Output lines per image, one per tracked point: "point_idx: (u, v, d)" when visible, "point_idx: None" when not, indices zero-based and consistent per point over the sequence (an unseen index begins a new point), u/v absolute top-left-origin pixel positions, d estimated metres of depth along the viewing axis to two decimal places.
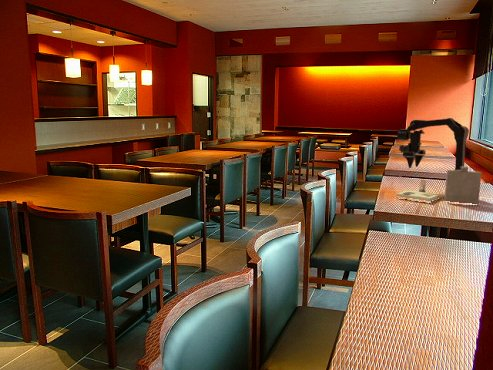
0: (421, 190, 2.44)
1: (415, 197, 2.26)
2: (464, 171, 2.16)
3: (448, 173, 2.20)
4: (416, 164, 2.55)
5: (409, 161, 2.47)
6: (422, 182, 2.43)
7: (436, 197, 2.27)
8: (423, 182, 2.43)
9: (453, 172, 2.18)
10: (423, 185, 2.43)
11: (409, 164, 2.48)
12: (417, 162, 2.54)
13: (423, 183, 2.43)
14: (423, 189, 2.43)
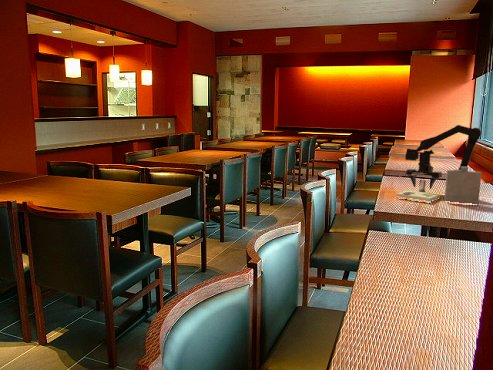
0: (421, 190, 2.44)
1: (415, 197, 2.26)
2: (464, 171, 2.16)
3: (448, 173, 2.20)
4: None
5: None
6: (422, 182, 2.43)
7: (436, 197, 2.27)
8: (423, 182, 2.43)
9: (453, 172, 2.18)
10: (423, 185, 2.43)
11: None
12: None
13: (423, 183, 2.43)
14: (423, 189, 2.43)
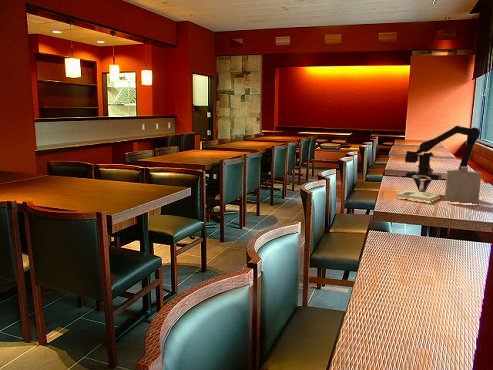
0: (421, 190, 2.44)
1: (415, 197, 2.26)
2: (464, 171, 2.16)
3: (448, 173, 2.20)
4: None
5: None
6: (422, 182, 2.43)
7: (436, 197, 2.27)
8: (423, 182, 2.43)
9: (453, 172, 2.18)
10: (423, 185, 2.43)
11: None
12: None
13: (423, 183, 2.43)
14: (423, 189, 2.43)
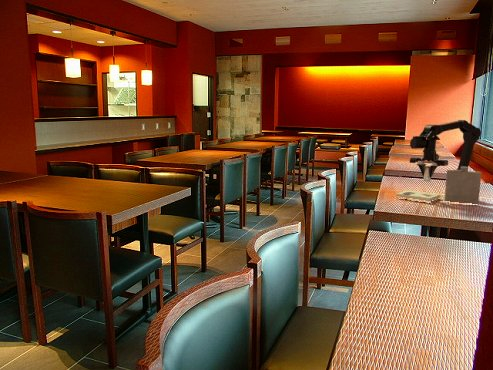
0: (426, 177, 2.27)
1: (415, 197, 2.26)
2: (464, 171, 2.16)
3: (448, 173, 2.20)
4: None
5: None
6: (427, 168, 2.26)
7: (436, 197, 2.27)
8: (428, 168, 2.26)
9: (453, 172, 2.18)
10: (428, 172, 2.26)
11: None
12: None
13: (428, 169, 2.26)
14: (428, 176, 2.26)
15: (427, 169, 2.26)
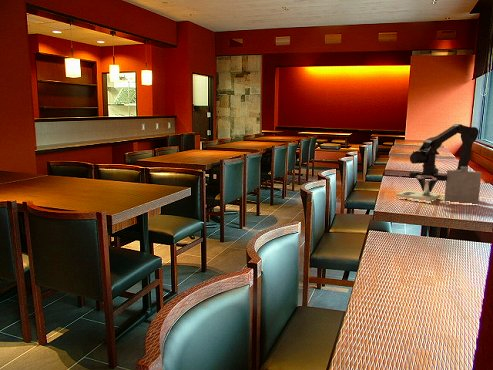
0: (426, 191, 2.27)
1: (415, 197, 2.26)
2: (464, 171, 2.16)
3: (448, 173, 2.20)
4: None
5: None
6: (427, 183, 2.26)
7: (436, 197, 2.27)
8: (428, 183, 2.26)
9: (453, 172, 2.18)
10: (428, 186, 2.26)
11: None
12: None
13: (428, 184, 2.26)
14: (428, 190, 2.26)
15: (427, 183, 2.26)
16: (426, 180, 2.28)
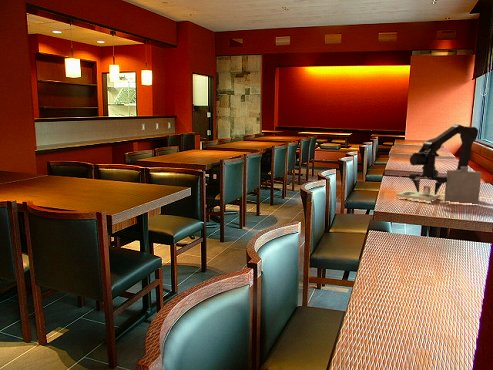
0: None
1: (415, 197, 2.26)
2: (464, 171, 2.16)
3: (448, 173, 2.20)
4: None
5: None
6: (426, 188, 2.26)
7: (436, 197, 2.27)
8: (427, 188, 2.26)
9: (453, 172, 2.18)
10: (427, 192, 2.27)
11: None
12: None
13: (427, 189, 2.26)
14: None
15: (426, 189, 2.27)
16: None
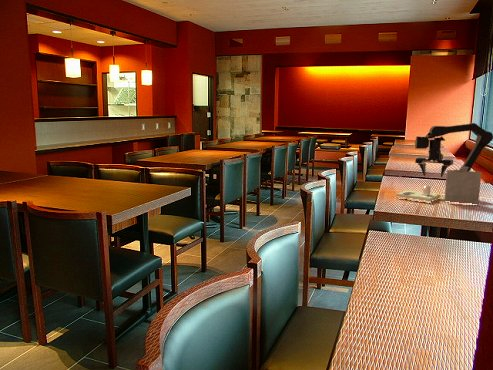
0: None
1: (415, 197, 2.26)
2: (464, 171, 2.16)
3: (448, 173, 2.20)
4: None
5: None
6: (426, 188, 2.26)
7: (436, 197, 2.27)
8: (427, 188, 2.26)
9: (453, 172, 2.18)
10: (427, 192, 2.27)
11: None
12: None
13: (427, 189, 2.26)
14: None
15: (426, 189, 2.27)
16: None
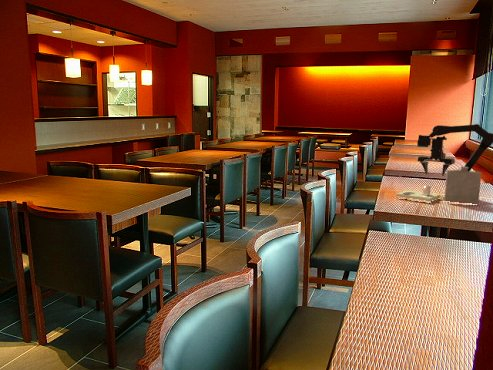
0: None
1: (415, 197, 2.26)
2: (464, 171, 2.16)
3: (448, 173, 2.20)
4: None
5: None
6: (426, 188, 2.26)
7: (436, 197, 2.27)
8: (427, 188, 2.26)
9: (453, 172, 2.18)
10: (427, 192, 2.27)
11: None
12: None
13: (427, 189, 2.26)
14: None
15: (426, 189, 2.27)
16: None
